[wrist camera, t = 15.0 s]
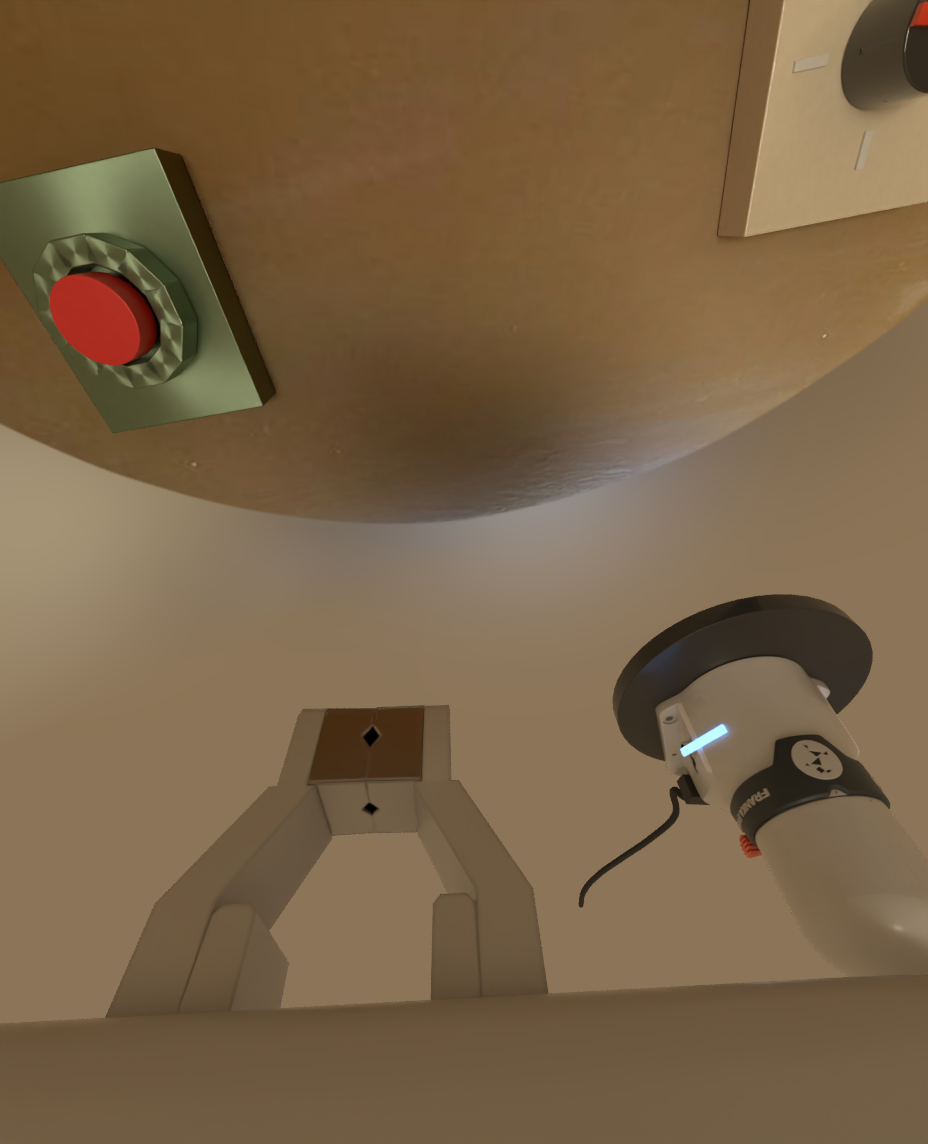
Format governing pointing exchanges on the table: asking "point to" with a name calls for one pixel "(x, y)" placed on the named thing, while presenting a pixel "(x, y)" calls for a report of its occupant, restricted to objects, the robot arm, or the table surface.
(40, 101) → the table surface
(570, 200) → the table surface
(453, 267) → the table surface
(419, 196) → the table surface
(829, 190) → the hob panel
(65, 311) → the red push button
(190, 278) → the button box
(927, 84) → the hob knob
